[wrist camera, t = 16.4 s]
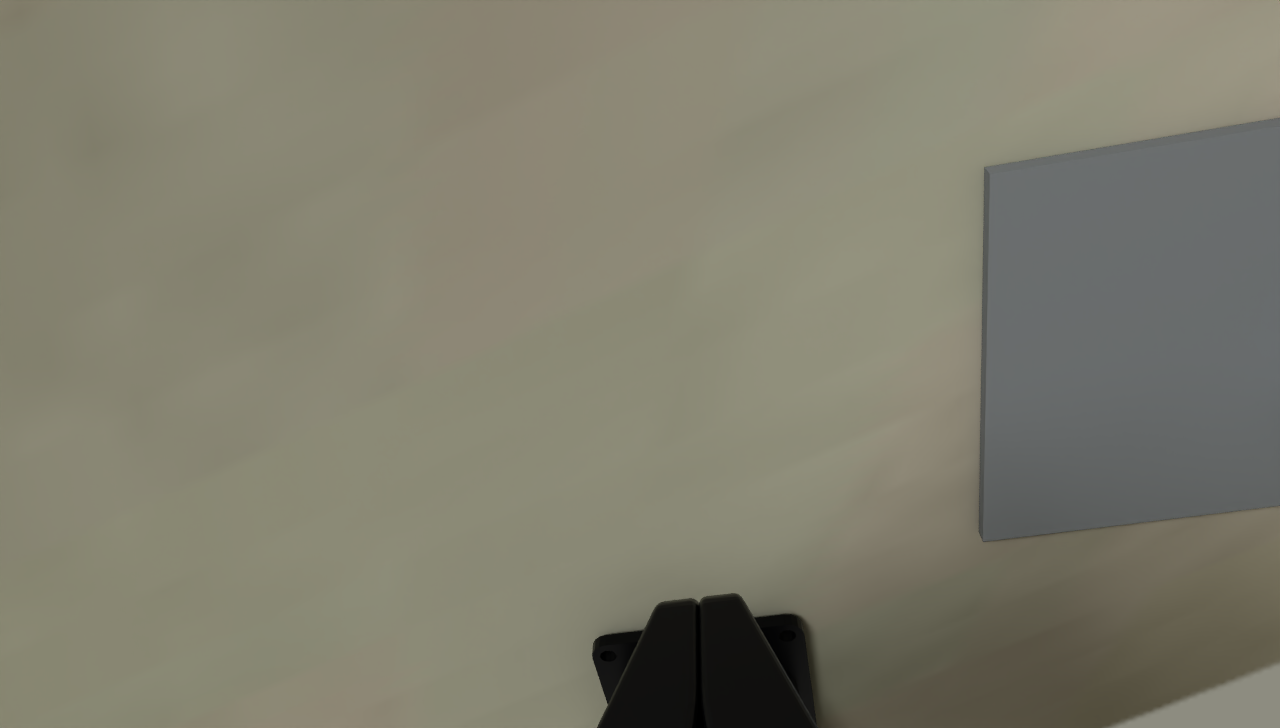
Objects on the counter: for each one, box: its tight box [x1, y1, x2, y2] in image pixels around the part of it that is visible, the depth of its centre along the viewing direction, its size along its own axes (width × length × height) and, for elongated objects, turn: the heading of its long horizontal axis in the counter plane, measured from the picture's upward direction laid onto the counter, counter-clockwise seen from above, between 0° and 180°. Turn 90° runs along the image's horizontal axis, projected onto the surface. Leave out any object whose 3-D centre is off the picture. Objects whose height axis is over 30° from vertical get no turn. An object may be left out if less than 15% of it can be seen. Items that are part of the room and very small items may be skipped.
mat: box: [979, 118, 1280, 542], centre depth 22 cm, size 11×13×1 cm
